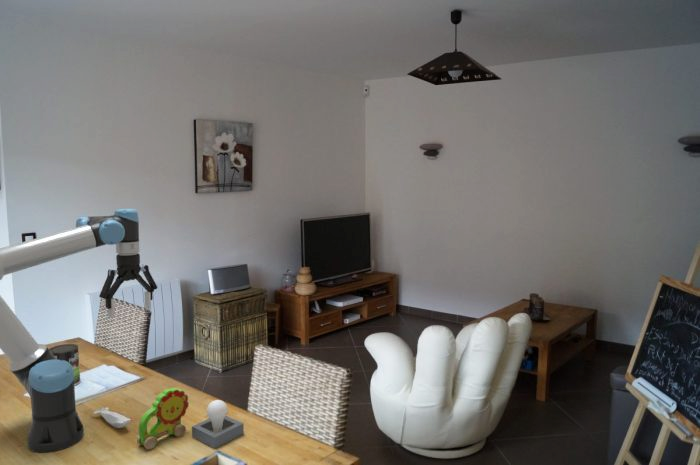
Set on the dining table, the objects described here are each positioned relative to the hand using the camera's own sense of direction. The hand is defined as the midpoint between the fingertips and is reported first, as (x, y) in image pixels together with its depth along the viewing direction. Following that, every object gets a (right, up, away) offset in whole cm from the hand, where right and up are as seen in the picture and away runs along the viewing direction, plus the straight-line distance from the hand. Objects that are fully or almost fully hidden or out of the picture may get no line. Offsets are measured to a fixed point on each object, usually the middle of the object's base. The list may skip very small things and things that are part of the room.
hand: (130, 313), depth 188 cm
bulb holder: (+36, -34, -22) cm, 55 cm away
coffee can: (-32, -30, +17) cm, 47 cm away
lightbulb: (+36, -34, -22) cm, 55 cm away
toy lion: (+21, -35, -24) cm, 47 cm away
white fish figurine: (0, -34, -14) cm, 37 cm away
